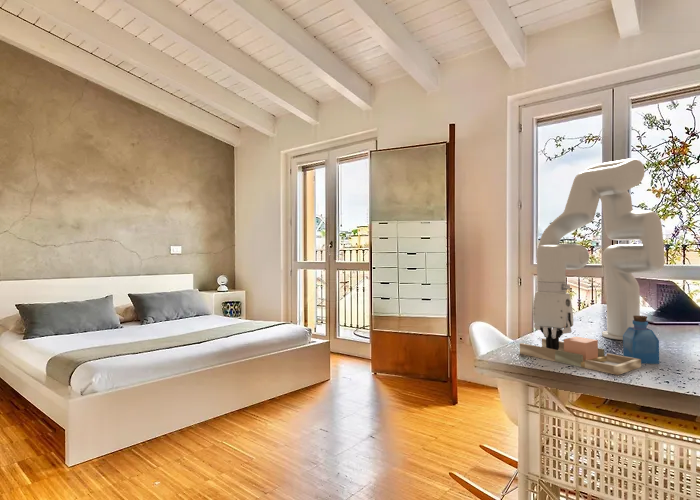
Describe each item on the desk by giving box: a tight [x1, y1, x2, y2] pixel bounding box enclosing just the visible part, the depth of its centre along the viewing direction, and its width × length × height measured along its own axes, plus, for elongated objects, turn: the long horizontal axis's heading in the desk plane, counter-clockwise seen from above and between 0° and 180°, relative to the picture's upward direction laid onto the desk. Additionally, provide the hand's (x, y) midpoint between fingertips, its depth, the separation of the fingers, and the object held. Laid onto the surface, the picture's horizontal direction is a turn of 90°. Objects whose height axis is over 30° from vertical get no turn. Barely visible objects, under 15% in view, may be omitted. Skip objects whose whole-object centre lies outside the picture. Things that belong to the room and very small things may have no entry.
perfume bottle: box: [622, 315, 660, 365], centre depth 117 cm, size 6×6×12 cm
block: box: [563, 336, 599, 362], centre depth 117 cm, size 6×6×6 cm
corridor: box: [519, 337, 642, 376], centre depth 119 cm, size 12×27×3 cm, turn 33°
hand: (552, 351), depth 125 cm, fingers closed
